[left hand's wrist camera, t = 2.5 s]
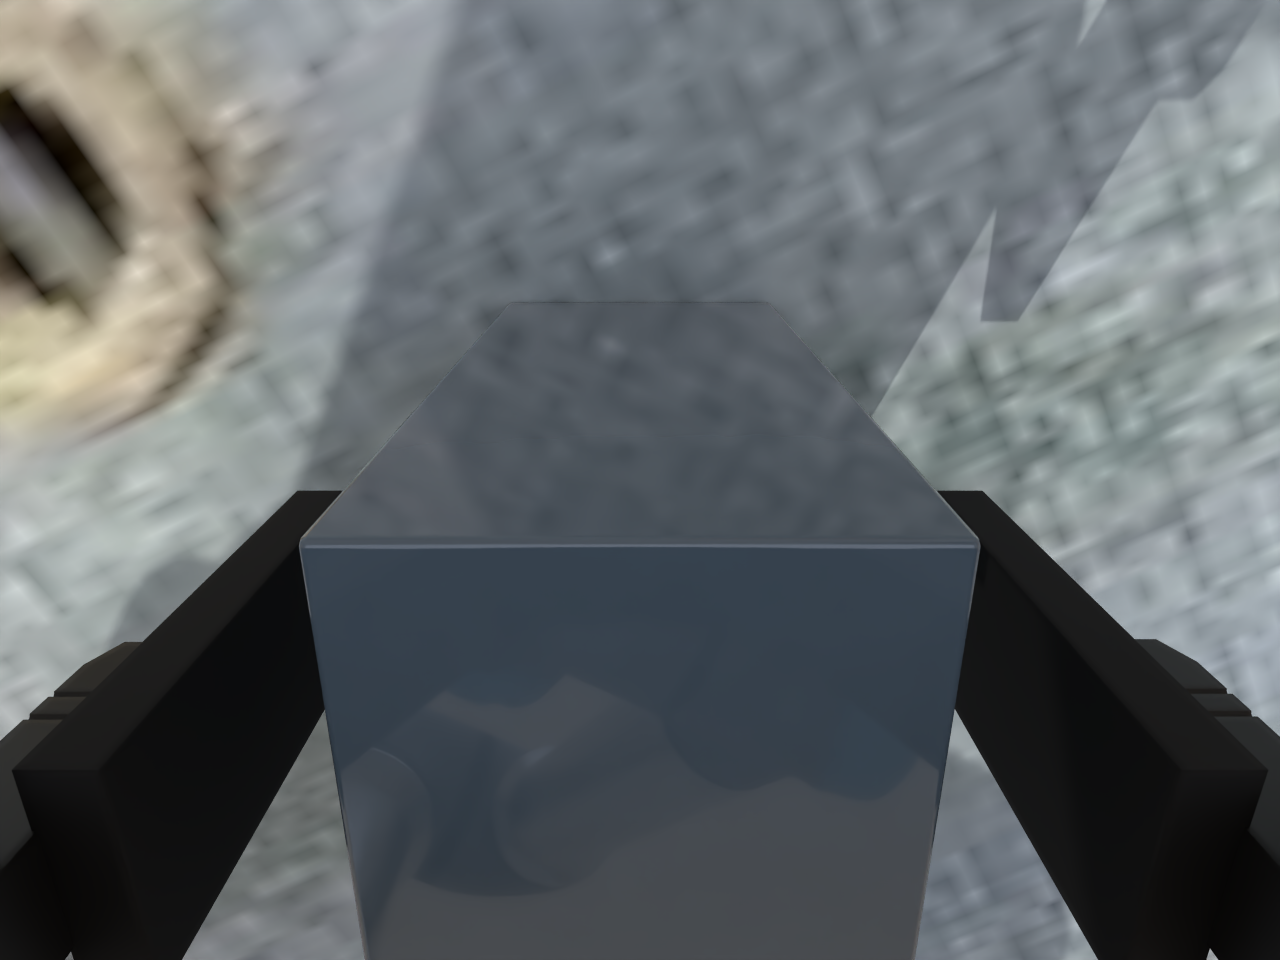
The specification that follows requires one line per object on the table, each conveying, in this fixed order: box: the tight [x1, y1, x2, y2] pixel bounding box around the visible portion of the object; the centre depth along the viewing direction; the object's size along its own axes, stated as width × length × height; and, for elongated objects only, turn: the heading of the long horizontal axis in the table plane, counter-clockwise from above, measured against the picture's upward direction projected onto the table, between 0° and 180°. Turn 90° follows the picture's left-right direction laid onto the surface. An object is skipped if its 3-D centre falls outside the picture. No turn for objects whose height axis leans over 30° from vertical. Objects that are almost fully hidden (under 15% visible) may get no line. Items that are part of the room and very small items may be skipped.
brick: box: [299, 303, 980, 960], centre depth 13 cm, size 7×5×11 cm
